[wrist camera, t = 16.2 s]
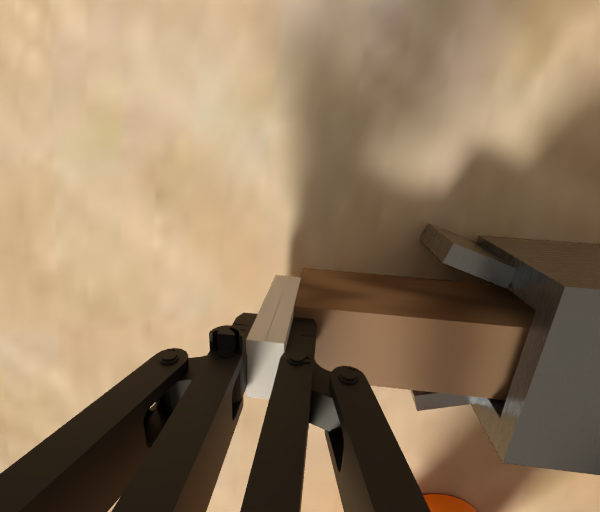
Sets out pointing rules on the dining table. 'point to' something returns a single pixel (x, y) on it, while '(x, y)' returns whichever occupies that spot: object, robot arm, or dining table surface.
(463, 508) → the shaker bottle
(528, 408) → the end cap
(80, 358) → the dining table surface
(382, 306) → the brown wooden block
